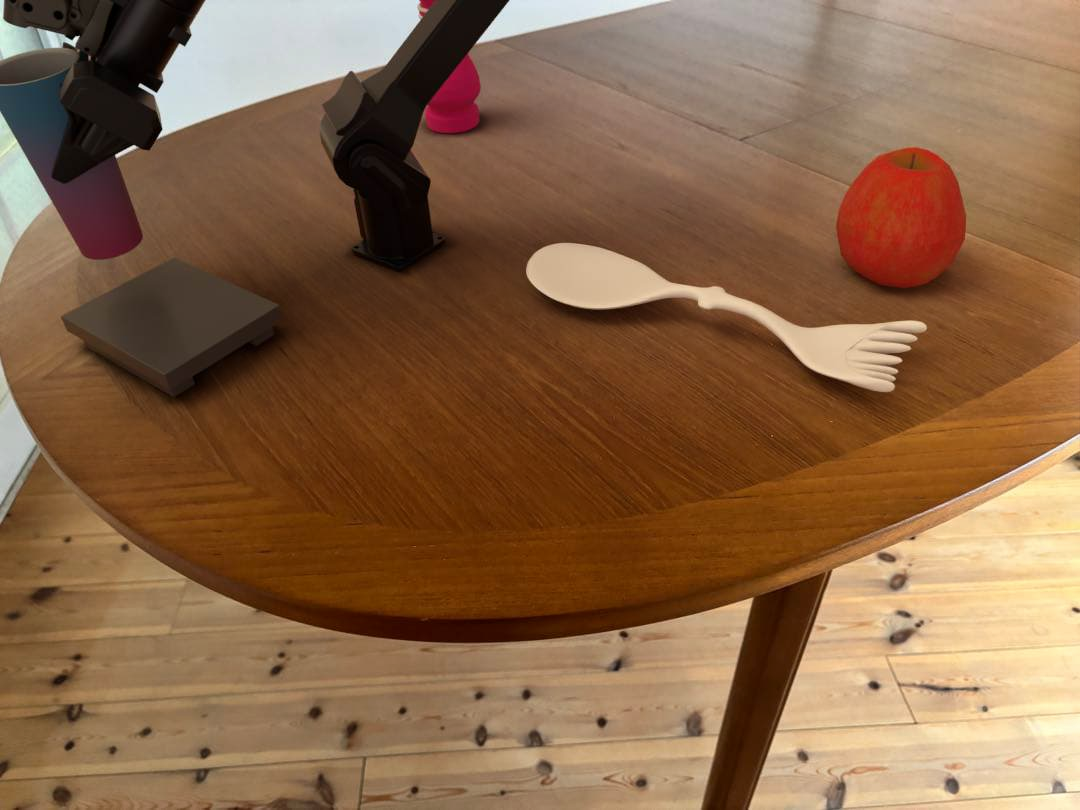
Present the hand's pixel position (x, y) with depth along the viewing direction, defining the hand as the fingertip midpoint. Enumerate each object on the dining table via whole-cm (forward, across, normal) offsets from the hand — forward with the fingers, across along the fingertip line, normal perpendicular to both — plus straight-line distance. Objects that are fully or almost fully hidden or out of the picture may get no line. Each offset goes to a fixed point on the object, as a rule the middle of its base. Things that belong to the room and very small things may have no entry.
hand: (58, 163), depth 71 cm
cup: (+4, 0, +6) cm, 8 cm away
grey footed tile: (+6, +7, +13) cm, 16 cm away
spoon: (-21, +23, +42) cm, 52 cm away
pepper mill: (-17, -26, +37) cm, 48 cm away
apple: (-34, +22, +55) cm, 69 cm away
